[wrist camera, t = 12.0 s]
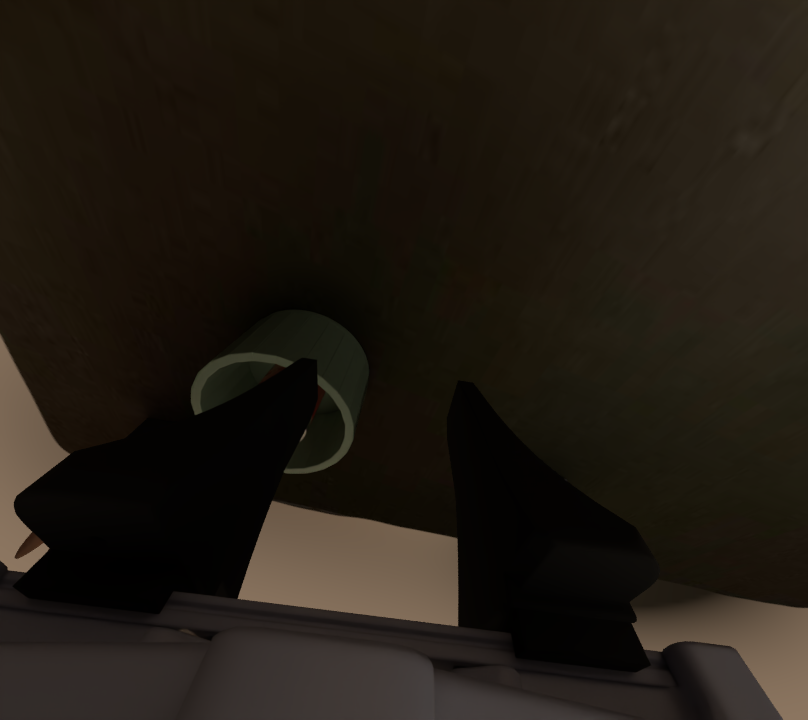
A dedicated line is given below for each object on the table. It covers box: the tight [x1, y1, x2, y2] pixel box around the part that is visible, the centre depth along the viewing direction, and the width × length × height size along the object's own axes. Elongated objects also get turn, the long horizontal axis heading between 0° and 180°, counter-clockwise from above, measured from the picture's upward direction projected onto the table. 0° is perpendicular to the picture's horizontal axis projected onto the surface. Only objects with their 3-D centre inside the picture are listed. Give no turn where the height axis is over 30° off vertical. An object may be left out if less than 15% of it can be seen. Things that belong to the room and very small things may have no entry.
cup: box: [191, 310, 369, 474], centre depth 21 cm, size 10×10×6 cm
